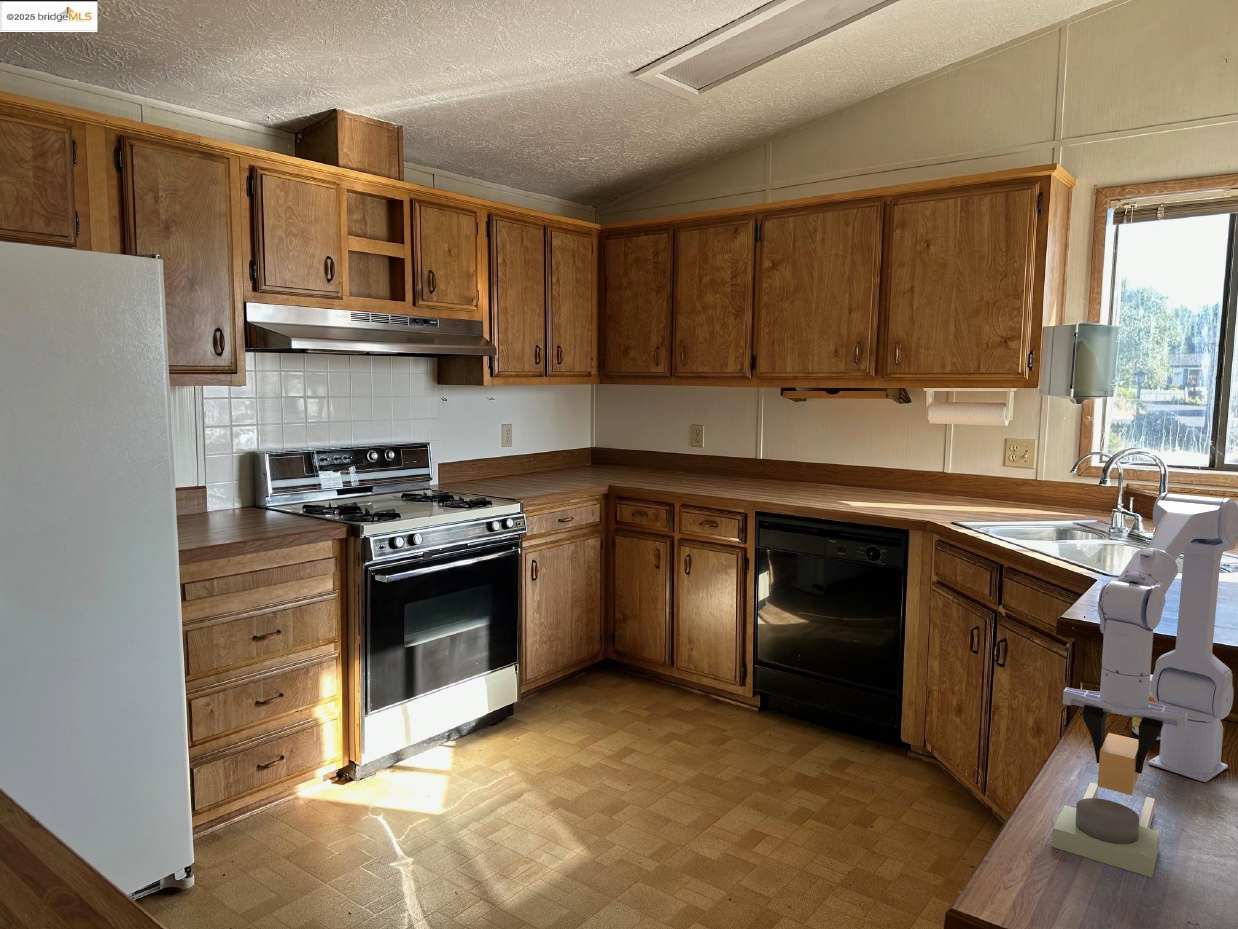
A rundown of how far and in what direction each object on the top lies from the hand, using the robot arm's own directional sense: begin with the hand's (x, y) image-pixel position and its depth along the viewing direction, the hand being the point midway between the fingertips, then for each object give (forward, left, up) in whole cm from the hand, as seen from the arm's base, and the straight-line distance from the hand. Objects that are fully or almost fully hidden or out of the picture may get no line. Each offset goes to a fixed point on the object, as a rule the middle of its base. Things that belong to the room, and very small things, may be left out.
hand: (1119, 766), depth 115 cm
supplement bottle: (-37, -10, -8) cm, 39 cm away
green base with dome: (+4, +1, -8) cm, 9 cm away
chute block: (0, 0, -2) cm, 2 cm away
